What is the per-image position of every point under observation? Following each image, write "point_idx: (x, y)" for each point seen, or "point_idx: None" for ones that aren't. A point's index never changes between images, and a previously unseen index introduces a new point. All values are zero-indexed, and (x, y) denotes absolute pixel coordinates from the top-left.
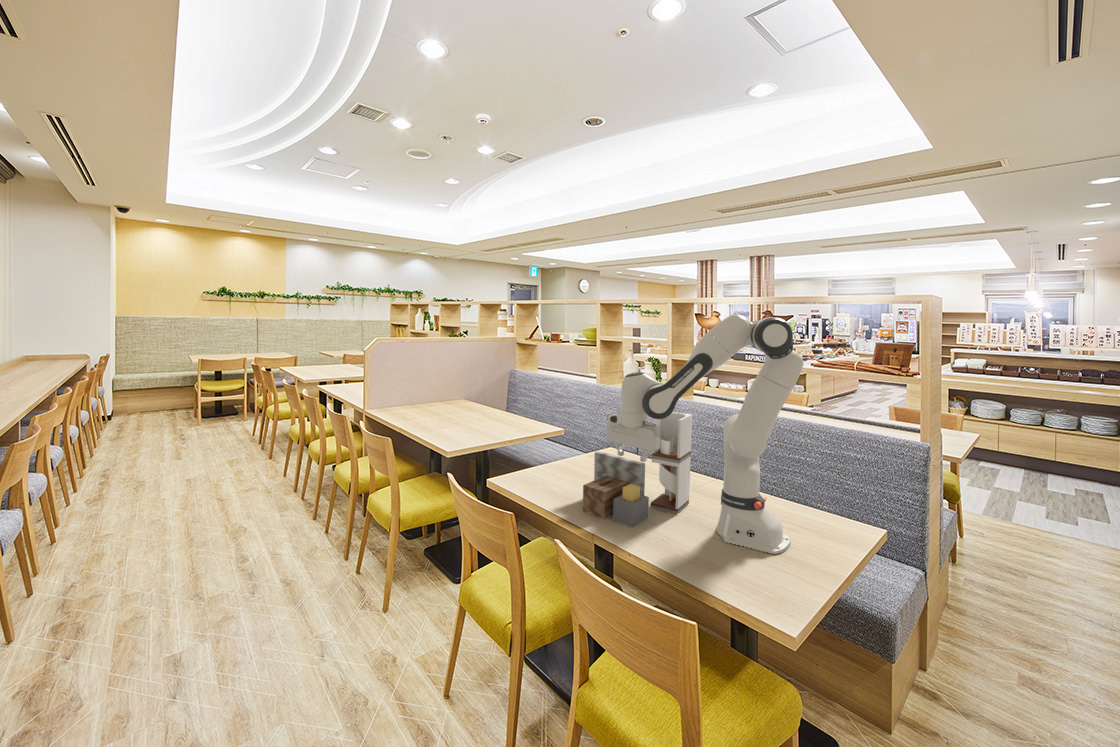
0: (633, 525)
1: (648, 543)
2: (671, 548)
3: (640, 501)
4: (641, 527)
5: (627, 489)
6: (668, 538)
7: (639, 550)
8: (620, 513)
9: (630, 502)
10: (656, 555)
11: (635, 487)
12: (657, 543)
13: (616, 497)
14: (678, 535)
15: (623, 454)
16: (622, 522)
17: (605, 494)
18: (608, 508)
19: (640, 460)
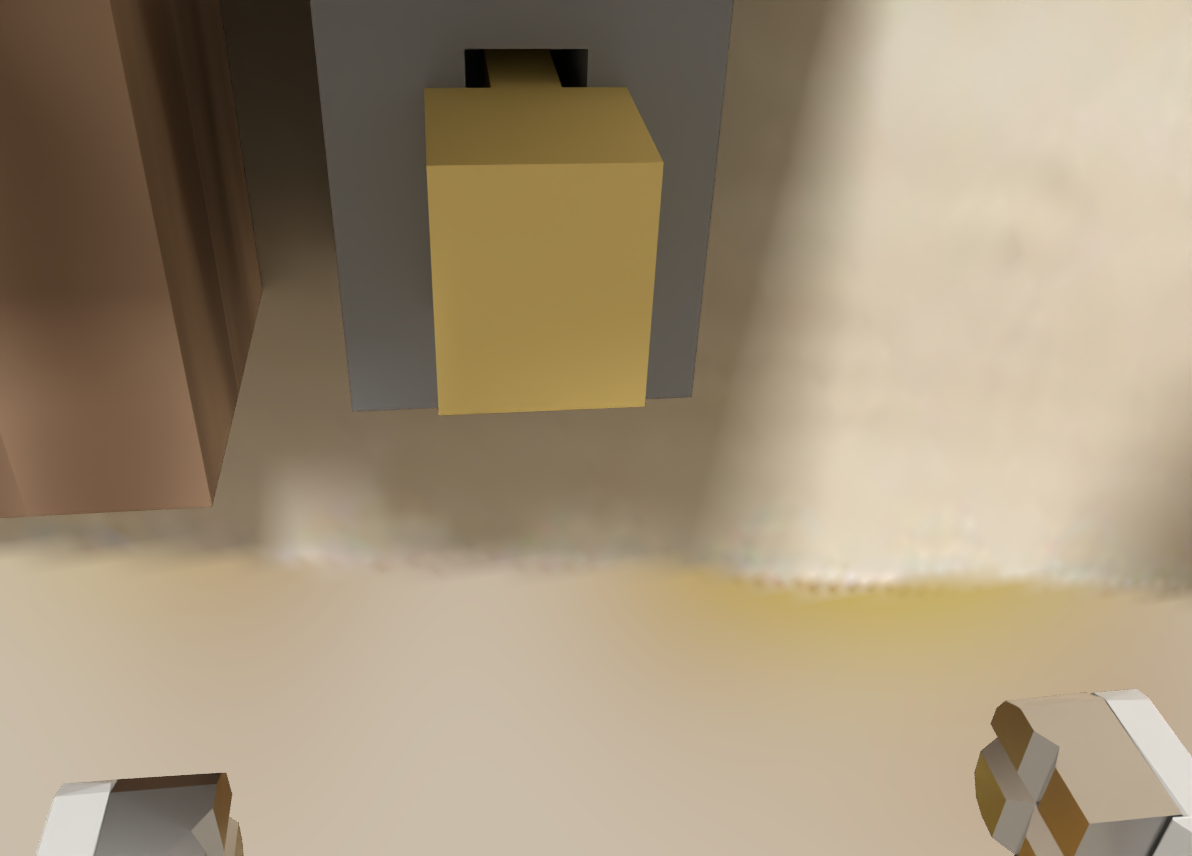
0: None
1: (915, 392)
2: (1124, 331)
3: (710, 214)
4: None
5: (543, 405)
6: (1055, 188)
7: (894, 522)
8: None
9: None
10: (1038, 494)
11: (614, 264)
12: (987, 341)
13: (187, 131)
14: (1138, 52)
15: (218, 788)
16: None
17: (215, 467)
18: (236, 273)
19: (989, 809)
